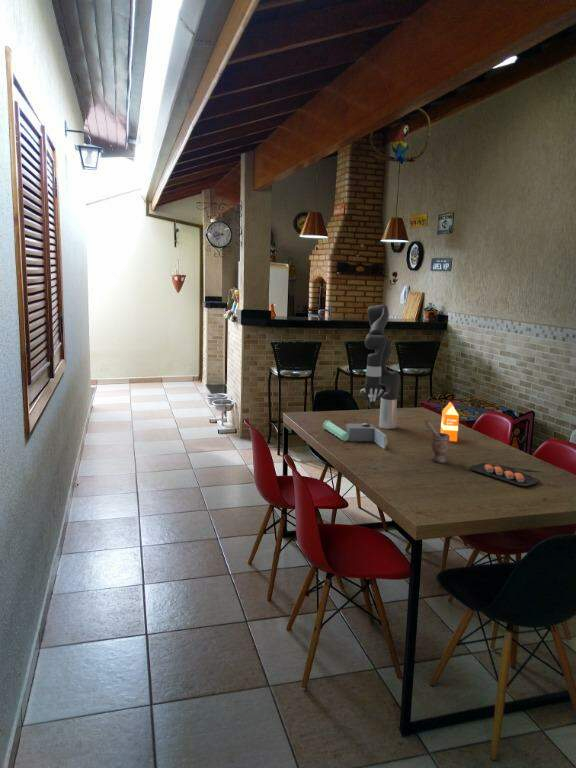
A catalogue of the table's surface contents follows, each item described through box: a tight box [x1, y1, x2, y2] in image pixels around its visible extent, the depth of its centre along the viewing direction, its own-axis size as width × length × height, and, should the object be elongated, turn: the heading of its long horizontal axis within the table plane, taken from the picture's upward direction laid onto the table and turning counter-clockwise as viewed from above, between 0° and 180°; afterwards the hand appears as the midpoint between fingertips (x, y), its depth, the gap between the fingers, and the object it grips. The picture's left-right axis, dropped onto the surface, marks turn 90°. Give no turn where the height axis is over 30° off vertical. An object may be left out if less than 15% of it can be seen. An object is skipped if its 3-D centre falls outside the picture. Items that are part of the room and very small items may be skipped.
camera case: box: [345, 422, 376, 442], centre depth 309 cm, size 14×10×8 cm
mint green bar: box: [322, 420, 349, 442], centre depth 314 cm, size 6×6×25 cm
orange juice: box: [439, 401, 460, 442], centre depth 314 cm, size 8×9×20 cm
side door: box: [373, 427, 388, 450], centre depth 297 cm, size 14×2×7 cm, turn 12°
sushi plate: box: [468, 462, 542, 487], centre depth 261 cm, size 29×30×4 cm
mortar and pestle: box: [424, 418, 450, 464], centre depth 274 cm, size 12×9×20 cm
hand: (371, 408), depth 291 cm, fingers closed
